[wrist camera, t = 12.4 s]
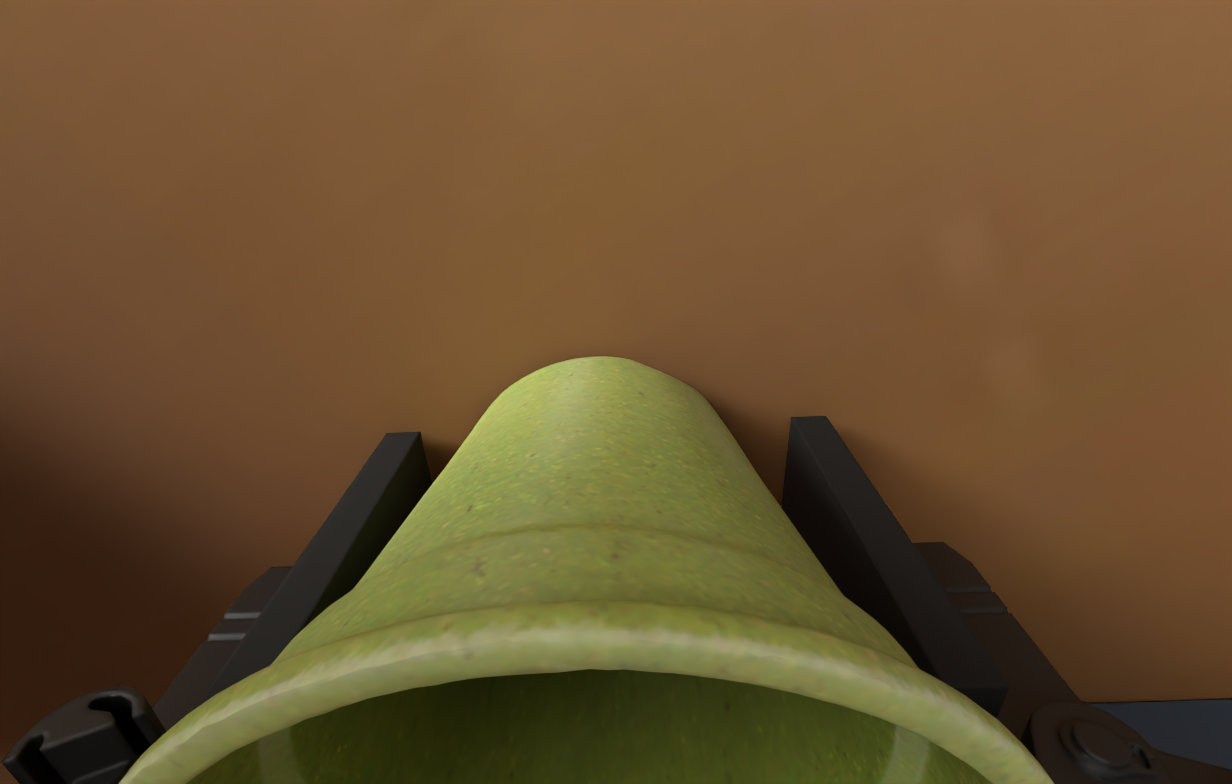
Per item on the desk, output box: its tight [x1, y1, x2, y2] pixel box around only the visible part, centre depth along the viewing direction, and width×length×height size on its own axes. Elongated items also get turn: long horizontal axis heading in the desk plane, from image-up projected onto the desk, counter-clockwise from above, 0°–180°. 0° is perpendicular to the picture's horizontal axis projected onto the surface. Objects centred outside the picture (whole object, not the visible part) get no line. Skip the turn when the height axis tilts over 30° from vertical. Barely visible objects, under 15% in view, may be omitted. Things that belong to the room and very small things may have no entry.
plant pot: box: [119, 356, 1054, 784], centre depth 9 cm, size 9×9×9 cm
